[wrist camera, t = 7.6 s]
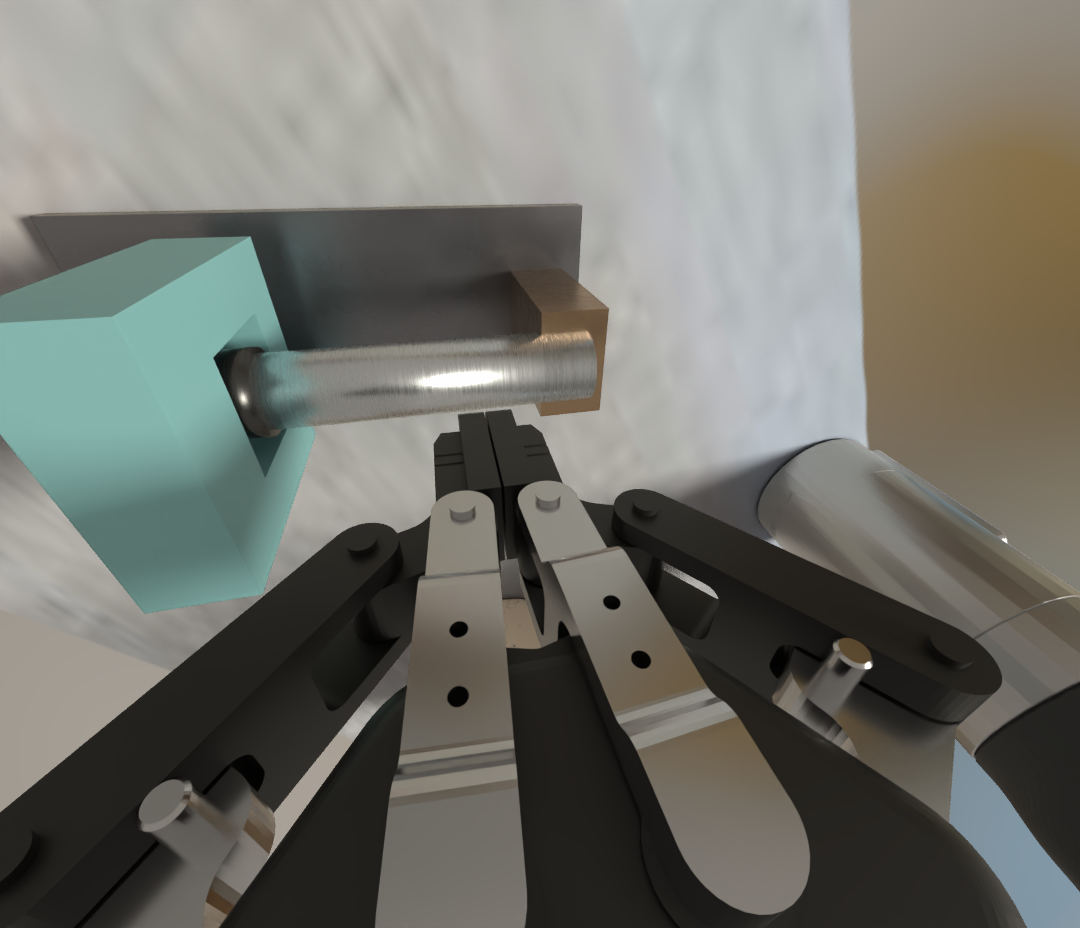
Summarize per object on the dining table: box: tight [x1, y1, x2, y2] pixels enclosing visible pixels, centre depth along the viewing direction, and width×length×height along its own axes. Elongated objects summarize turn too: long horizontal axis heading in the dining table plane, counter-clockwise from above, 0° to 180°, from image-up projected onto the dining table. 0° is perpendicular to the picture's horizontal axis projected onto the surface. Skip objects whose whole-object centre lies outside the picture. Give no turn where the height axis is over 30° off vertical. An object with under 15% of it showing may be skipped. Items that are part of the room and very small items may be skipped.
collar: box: [0, 236, 316, 614], centre depth 14 cm, size 3×8×9 cm, turn 0°
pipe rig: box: [30, 204, 609, 439], centre depth 17 cm, size 20×9×8 cm, turn 90°
